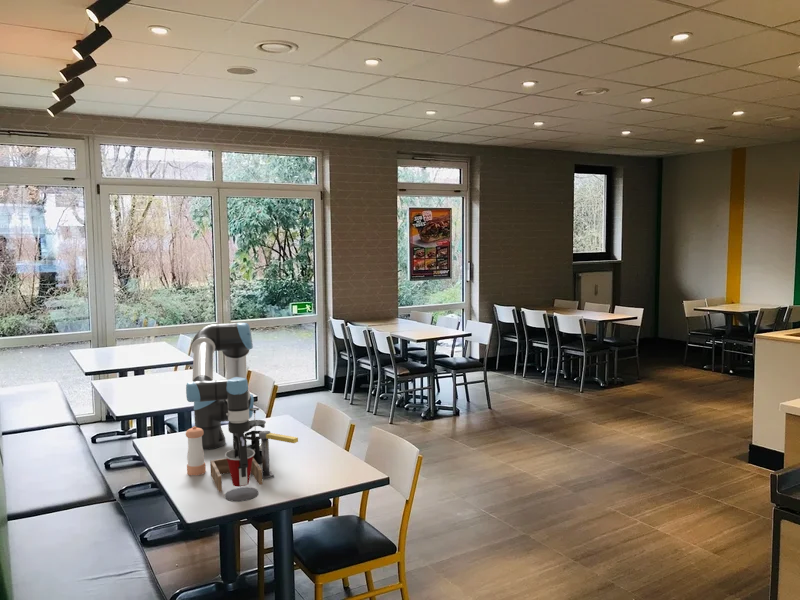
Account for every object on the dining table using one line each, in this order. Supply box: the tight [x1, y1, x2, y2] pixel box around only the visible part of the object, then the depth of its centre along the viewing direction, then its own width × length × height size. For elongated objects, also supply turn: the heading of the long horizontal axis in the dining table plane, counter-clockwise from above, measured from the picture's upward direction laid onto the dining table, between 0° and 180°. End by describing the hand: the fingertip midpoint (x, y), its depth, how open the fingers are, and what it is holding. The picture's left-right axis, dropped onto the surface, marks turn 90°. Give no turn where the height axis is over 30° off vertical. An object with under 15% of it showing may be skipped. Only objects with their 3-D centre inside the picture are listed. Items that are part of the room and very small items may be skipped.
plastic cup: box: [224, 448, 255, 488], centre depth 239 cm, size 11×11×12 cm
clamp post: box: [260, 439, 275, 480], centre depth 258 cm, size 5×5×16 cm
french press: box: [244, 407, 266, 465], centre depth 277 cm, size 12×9×23 cm
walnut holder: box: [209, 457, 263, 493], centre depth 255 cm, size 20×16×6 cm
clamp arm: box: [258, 430, 299, 444], centre depth 253 cm, size 4×18×2 cm, turn 59°
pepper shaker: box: [185, 425, 207, 476], centre depth 264 cm, size 7×7×19 cm
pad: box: [224, 486, 259, 502], centre depth 240 cm, size 12×12×1 cm
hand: (241, 480), depth 239 cm, fingers closed on plastic cup, 8 cm apart
